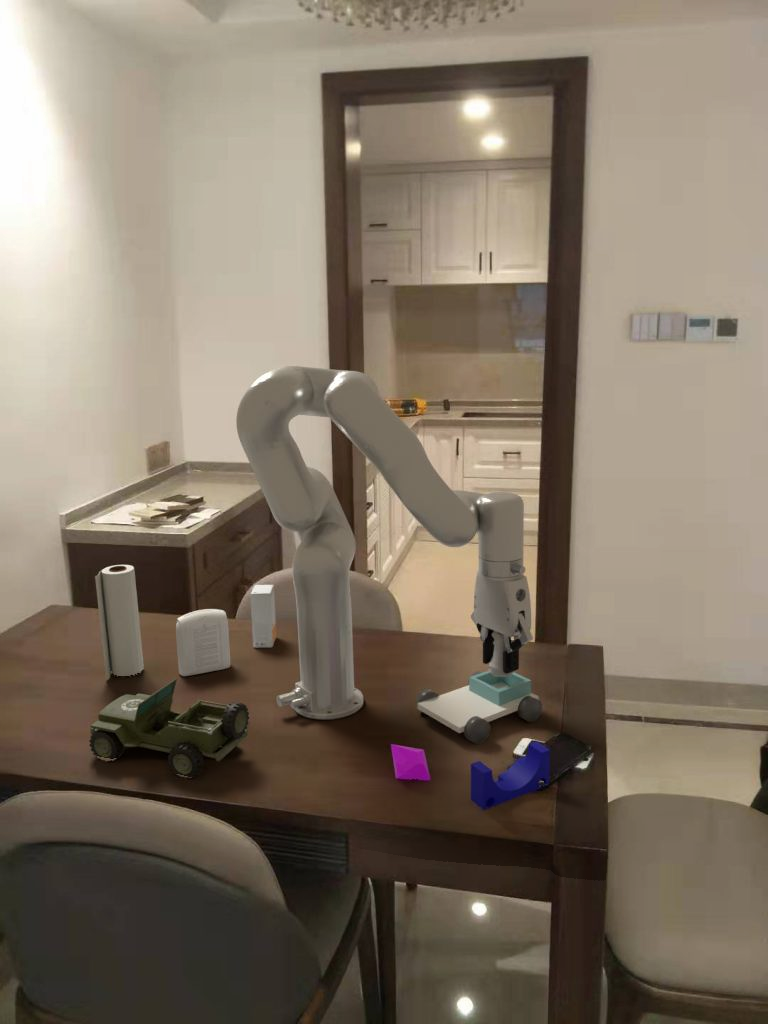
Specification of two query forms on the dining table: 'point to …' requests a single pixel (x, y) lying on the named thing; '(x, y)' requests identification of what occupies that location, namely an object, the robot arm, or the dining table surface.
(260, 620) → the skincare box
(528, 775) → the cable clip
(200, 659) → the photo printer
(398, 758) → the crystal
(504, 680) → the chassis
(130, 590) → the paper towel roll
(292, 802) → the dining table surface
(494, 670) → the rook chess piece
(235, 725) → the toy jeep
